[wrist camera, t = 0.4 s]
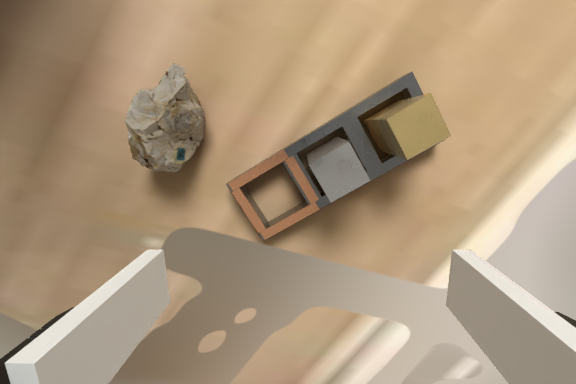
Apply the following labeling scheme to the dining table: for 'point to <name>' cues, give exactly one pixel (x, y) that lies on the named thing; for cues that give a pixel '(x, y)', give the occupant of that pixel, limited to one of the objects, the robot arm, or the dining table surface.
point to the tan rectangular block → (408, 126)
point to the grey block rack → (301, 174)
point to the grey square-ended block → (337, 168)
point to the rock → (165, 123)
